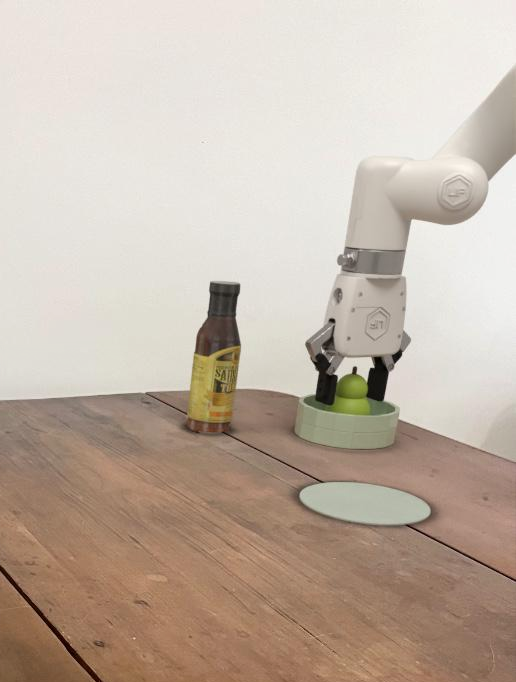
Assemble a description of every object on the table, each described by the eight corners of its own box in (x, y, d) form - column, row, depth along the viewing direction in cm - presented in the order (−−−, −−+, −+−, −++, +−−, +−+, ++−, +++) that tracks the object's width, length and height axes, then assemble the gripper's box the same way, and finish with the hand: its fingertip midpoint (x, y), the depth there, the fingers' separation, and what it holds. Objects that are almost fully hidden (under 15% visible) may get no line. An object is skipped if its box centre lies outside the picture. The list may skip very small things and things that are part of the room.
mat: (399, 485, 109) (400, 482, 109) (452, 527, 96) (453, 524, 96) (284, 484, 108) (284, 481, 107) (321, 526, 95) (322, 523, 95)
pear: (357, 430, 129) (369, 362, 125) (372, 442, 124) (385, 371, 120) (315, 429, 129) (326, 361, 125) (329, 441, 124) (340, 370, 119)
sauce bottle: (213, 439, 125) (230, 285, 116) (176, 429, 129) (189, 280, 120) (240, 431, 129) (257, 282, 121) (203, 422, 133) (217, 278, 125)
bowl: (372, 428, 133) (378, 394, 131) (408, 454, 121) (415, 417, 119) (282, 427, 132) (287, 392, 130) (310, 453, 120) (316, 415, 118)
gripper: (336, 267, 111) (314, 411, 118) (446, 266, 117) (418, 403, 125) (298, 261, 117) (279, 398, 124) (404, 260, 123) (380, 391, 131)
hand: (349, 400), depth 124 cm, fingers open, 7 cm apart
